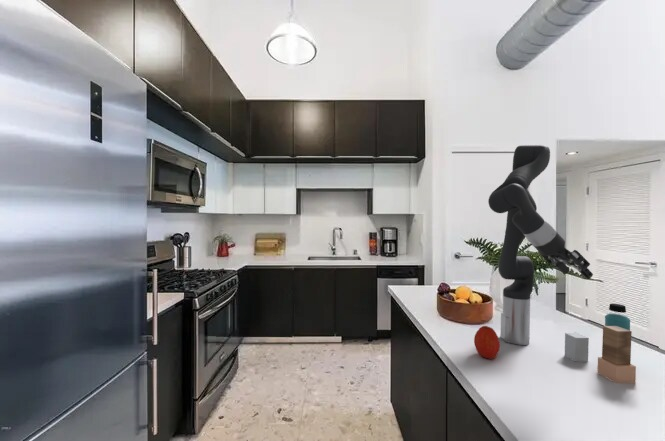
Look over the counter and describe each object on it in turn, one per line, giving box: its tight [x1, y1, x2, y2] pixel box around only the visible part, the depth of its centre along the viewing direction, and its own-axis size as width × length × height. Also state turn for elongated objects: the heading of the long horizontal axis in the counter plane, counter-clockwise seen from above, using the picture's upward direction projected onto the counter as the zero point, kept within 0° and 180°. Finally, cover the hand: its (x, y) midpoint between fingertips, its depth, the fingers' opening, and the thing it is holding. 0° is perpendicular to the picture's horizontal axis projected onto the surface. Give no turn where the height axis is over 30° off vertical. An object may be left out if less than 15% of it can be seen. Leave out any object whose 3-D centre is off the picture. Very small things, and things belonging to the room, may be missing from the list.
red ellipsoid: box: [473, 325, 501, 360], centre depth 107 cm, size 8×8×11 cm
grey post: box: [564, 332, 590, 363], centre depth 107 cm, size 4×4×8 cm
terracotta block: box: [597, 356, 637, 384], centre depth 94 cm, size 6×6×5 cm
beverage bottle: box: [604, 303, 631, 331], centre depth 102 cm, size 6×7×20 cm
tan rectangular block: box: [601, 325, 633, 365], centre depth 94 cm, size 4×4×10 cm
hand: (577, 274), depth 96 cm, fingers open, 8 cm apart
